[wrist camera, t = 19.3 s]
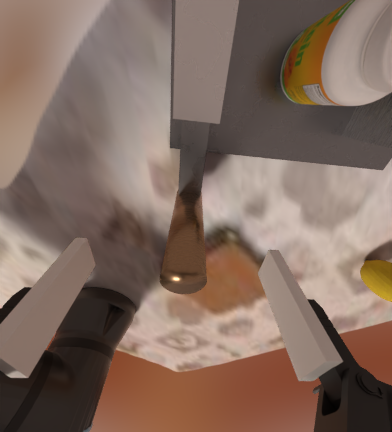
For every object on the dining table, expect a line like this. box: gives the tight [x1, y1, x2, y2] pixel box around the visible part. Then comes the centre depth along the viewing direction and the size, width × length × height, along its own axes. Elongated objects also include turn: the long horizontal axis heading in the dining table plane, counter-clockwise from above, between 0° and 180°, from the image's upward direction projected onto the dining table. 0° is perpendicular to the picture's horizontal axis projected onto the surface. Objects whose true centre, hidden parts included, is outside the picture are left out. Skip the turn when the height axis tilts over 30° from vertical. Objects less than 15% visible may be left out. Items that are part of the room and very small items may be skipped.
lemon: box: [360, 260, 392, 302], centre depth 29 cm, size 6×6×8 cm
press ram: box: [160, 0, 239, 294], centre depth 12 cm, size 3×19×13 cm, turn 174°
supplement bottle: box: [280, 0, 392, 106], centre depth 11 cm, size 5×5×10 cm
